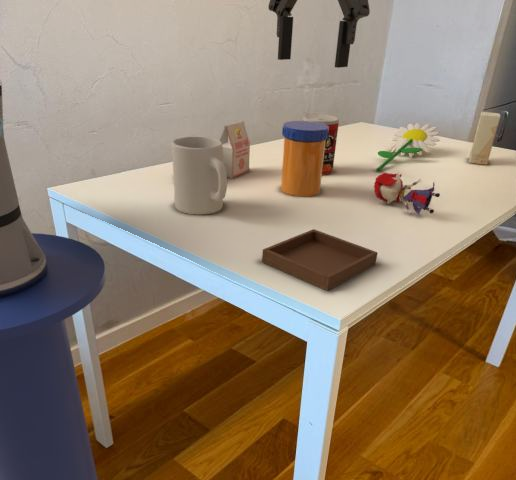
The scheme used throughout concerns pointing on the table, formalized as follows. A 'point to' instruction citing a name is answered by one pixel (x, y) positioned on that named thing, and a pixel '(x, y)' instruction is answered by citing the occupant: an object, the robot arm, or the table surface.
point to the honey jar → (302, 167)
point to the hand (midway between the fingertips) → (311, 63)
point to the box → (484, 137)
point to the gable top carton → (235, 149)
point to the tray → (319, 258)
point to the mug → (198, 175)
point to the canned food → (330, 141)
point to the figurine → (403, 192)
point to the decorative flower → (410, 142)
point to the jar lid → (305, 131)
